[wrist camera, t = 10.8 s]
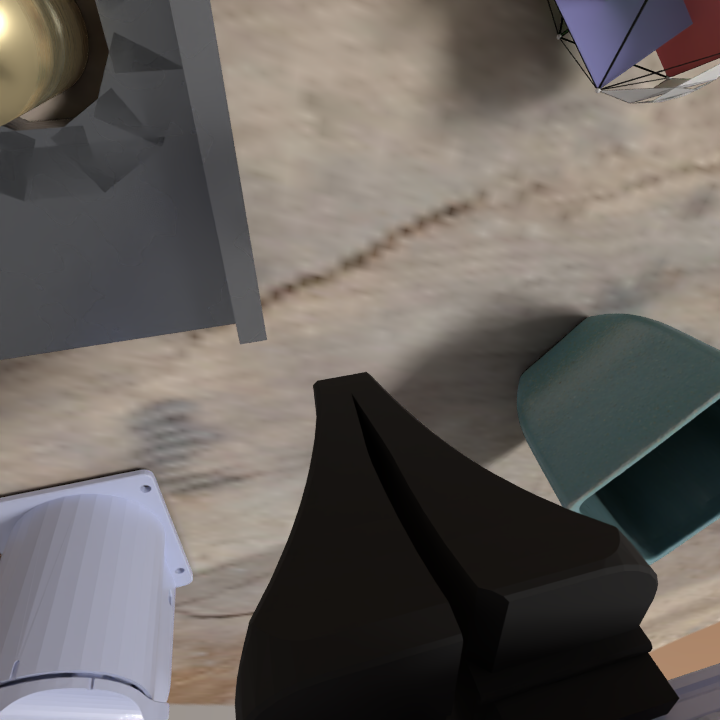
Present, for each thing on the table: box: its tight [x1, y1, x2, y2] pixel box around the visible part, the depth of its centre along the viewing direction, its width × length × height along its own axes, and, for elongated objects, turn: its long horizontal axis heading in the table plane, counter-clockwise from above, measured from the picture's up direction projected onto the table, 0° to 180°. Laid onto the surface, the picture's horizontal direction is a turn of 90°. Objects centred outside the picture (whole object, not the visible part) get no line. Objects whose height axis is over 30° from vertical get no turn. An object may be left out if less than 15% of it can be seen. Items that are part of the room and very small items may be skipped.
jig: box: [0, 0, 267, 360], centre depth 15 cm, size 14×11×3 cm
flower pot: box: [517, 314, 720, 565], centre depth 25 cm, size 9×9×9 cm
